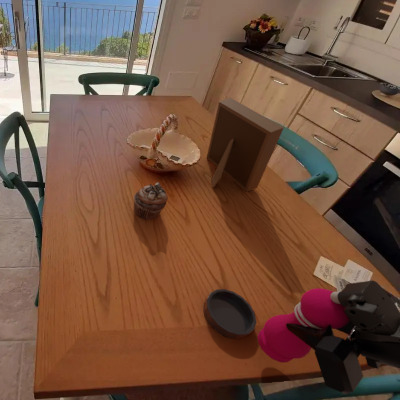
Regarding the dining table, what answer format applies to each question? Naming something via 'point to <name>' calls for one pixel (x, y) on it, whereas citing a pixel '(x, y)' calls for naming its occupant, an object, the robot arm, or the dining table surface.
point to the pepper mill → (303, 315)
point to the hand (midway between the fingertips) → (294, 318)
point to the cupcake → (150, 201)
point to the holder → (229, 314)
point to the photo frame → (241, 144)
